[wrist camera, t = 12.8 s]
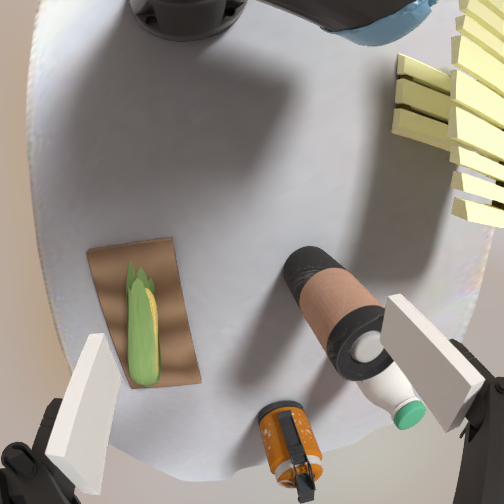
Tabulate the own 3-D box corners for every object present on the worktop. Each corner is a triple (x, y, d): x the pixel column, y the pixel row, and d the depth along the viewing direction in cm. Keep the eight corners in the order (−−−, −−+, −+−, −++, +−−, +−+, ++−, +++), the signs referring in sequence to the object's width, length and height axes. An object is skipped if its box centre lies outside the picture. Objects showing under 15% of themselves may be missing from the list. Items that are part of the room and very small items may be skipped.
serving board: (88, 249, 39) (86, 252, 38) (172, 237, 41) (171, 239, 40) (132, 384, 48) (131, 388, 47) (201, 378, 50) (201, 382, 48)
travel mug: (294, 301, 47) (347, 394, 29) (272, 260, 44) (323, 347, 26) (338, 276, 47) (410, 354, 28) (320, 234, 44) (398, 301, 26)
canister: (259, 430, 57) (281, 513, 38) (253, 396, 53) (277, 489, 34) (302, 421, 58) (333, 499, 39) (301, 385, 54) (339, 473, 35)
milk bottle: (375, 347, 54) (431, 422, 35) (337, 362, 53) (385, 445, 35) (373, 314, 51) (440, 389, 32) (333, 330, 50) (389, 415, 32)
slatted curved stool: (453, 203, 46) (531, 234, 30) (383, 188, 43) (468, 220, 27) (467, 45, 36) (542, 35, 20) (398, 8, 33) (475, -25, 17)
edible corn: (126, 389, 42) (153, 398, 41) (117, 265, 36) (150, 272, 35) (139, 370, 47) (165, 378, 46) (136, 253, 41) (167, 259, 40)
